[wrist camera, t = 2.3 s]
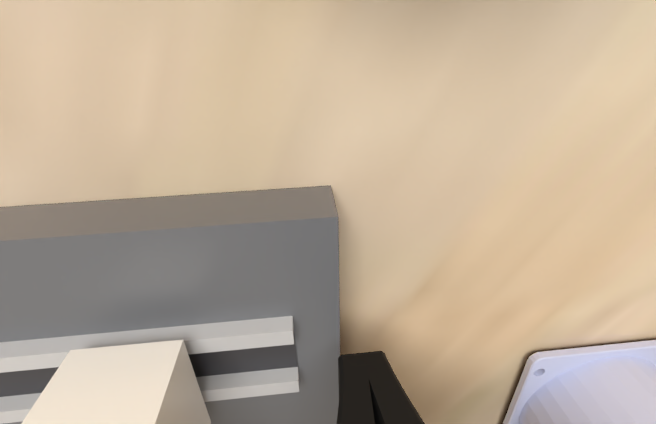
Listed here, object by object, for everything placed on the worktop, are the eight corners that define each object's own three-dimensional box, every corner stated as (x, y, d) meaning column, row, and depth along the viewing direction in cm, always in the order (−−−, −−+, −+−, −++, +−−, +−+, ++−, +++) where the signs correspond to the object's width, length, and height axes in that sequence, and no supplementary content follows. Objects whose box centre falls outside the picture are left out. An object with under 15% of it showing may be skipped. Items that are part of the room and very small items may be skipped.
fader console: (335, 382, 16) (343, 441, 14) (-136, 431, 15) (-214, 507, 12) (330, 185, 11) (340, 228, 9) (-381, 232, 10) (-588, 297, 7)
